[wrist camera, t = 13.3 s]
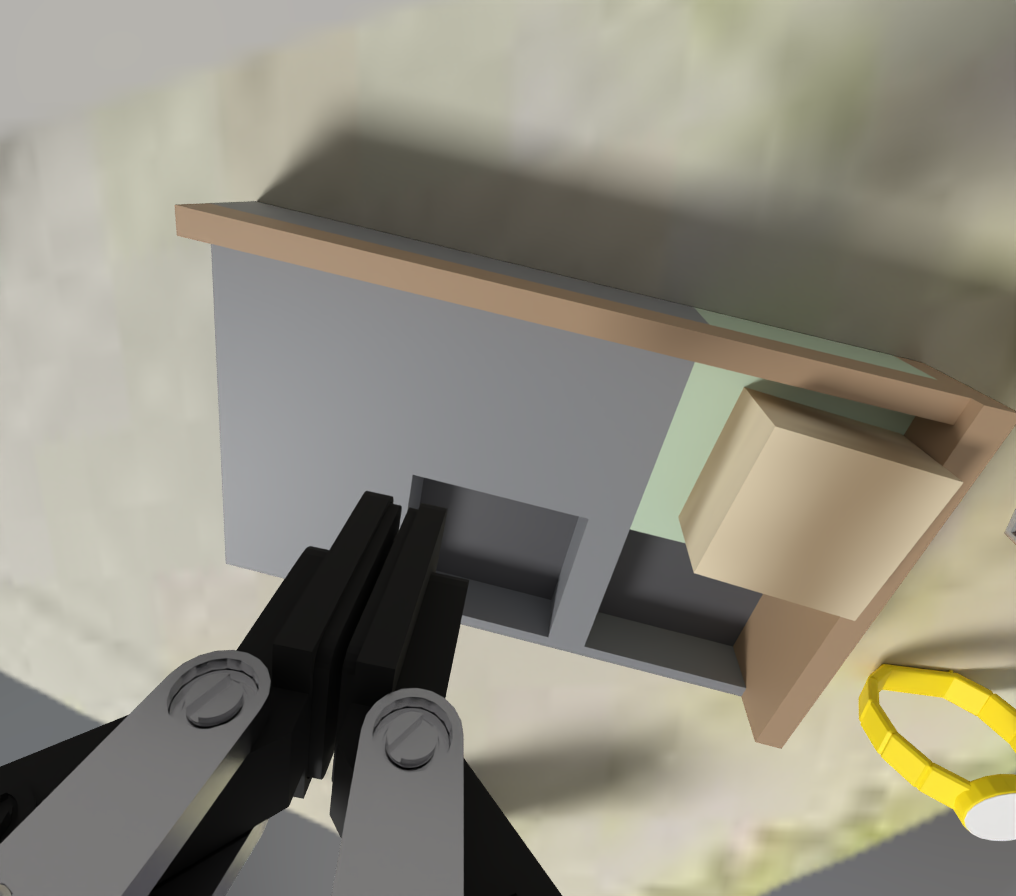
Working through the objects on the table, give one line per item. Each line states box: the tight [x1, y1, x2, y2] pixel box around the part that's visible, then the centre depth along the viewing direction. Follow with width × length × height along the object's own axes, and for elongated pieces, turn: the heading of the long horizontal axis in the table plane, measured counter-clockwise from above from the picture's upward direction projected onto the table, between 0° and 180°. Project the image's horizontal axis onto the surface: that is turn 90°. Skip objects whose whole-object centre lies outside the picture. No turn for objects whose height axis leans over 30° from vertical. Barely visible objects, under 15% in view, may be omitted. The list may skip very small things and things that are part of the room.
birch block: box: [678, 387, 964, 621], centre depth 16 cm, size 5×5×3 cm
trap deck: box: [175, 201, 1016, 749], centre depth 19 cm, size 23×14×4 cm, turn 78°
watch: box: [859, 664, 1016, 841], centre depth 21 cm, size 6×3×6 cm, turn 88°
